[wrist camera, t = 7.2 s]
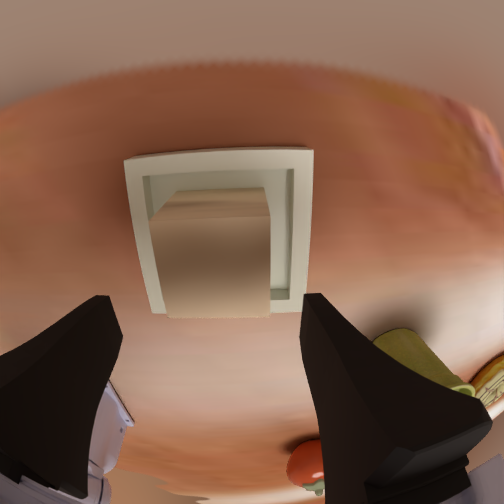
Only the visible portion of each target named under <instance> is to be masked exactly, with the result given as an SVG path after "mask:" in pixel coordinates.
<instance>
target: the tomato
mask: <svg viewBox="0 0 504 504" xmlns="http://www.w3.org/2000/svg"><path fill="white" fill-rule="evenodd" d="M286 472H287V476H288V479H289V480H290V482H291V483H293V484H295V485H297V486H300V487H303V488H305V489H306V490H307V491H315V494H316V495H317V496H321V495H322V494H323V489H325V485H324V471H323V459H322V450H321V441H320V439H316V440H309V441H306V442H303V443H301V444H300V445H299V446H298V447H297V448H296V449H295V450H294V451H293V453H292V454H291V456H290V458H289V461H288V464H287V470H286Z"/></svg>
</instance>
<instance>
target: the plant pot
mask: <svg viewBox="0 0 504 504" xmlns="http://www.w3.org/2000/svg"><path fill="white" fill-rule="evenodd" d="M373 344H375V345H376V346H377V347H378V348H380V349H381V350H382V351H384V352H385V353H387V354H388V355H389V356H391V357H392V358H394V359H395V360H397V361H398V362H400V363H401V364H403V365H404V366H406V367H408V368H409V369H411V370H413V371H415V372H416V373H418V374H420V375H422V376H424V377H426V378H428V379H430V380H432V381H434V382H436V383H438V384H440V385H443V386H445V387H447V388H450V389H452V390H455V391H458V392H461V393H464V394H467V395H470V396H473V397H475V389H474V387H473V386H472V385H471V384H469V383H465V382H463V381H462V380H461V378H460V377H458V376H457V375H454V374H453V373H452V372H451V371H450V370H449V369H448V368H447V367H446V366H445V364H444V363H443V362H442V361H441V360H440V359H439V358H438V357H437V356H436V355H435V353H434V352H433V351H432V350H431V349H430V348H429V347H428V346H427V345H426V343H425V342H424V341H423V340H422V339H421V338H420V337H419V336H418V335H417V334H416V333H415V332H413V331H411V330H408V329H405V328H401V329H395V330H392V331H389V332H387V333H384V334H382V335H381V336H379V337H378V338H376V339H375V340H374V342H373Z"/></svg>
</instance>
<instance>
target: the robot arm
mask: <svg viewBox="0 0 504 504" xmlns="http://www.w3.org/2000/svg"><path fill="white" fill-rule="evenodd" d="M299 338H300V345H301V353H302V360H303V364H304V368H305V372H306V376H307V379H308V383H309V387H310V391H311V394H312V398H313V402H314V406H315V410H316V414H317V419H318V426H319V433H320V441H321V450H322V459H323V471H324V485H325V504H504V459H503V457H502V455H501V454H497V455H496V456H494V457H493V458H491V459H490V460H488V461H486V462H485V463H483V464H482V465H480V466H478V467H476V468H475V469H473V470H472V471H470V472H469V473H467V472H466V470H465V466H467V465H468V464H469V460H468V458H467V455H466V454H467V453H468V452H469V451H470V450H472V448H474V447H475V446H476V445H477V444H478V443H479V442H480V441H481V440H482V439H483V438H484V437H485V436H486V435H487V434H488V432H489V431H490V429H491V427H492V423H493V422H492V420H491V418H490V416H489V414H488V412H487V410H486V409H485V407H484V405H483V403H482V401H481V400H480V399H479V398H476V397H473V396H470V395H467V394H464V393H461V392H458V391H455V390H452V389H450V388H447V387H445V386H443V385H440V384H438V383H436V382H434V381H432V380H430V379H428V378H426V377H424V376H422V375H420V374H418V373H416V372H415V371H413V370H411V369H409V368H408V367H406V366H404V365H403V364H401V363H400V362H398V361H397V360H395V359H394V358H392V357H391V356H389V355H388V354H387V353H385V352H384V351H382V350H381V349H380V348H378V347H377V346H376V345H375V344H373V343H372V342H371V341H370V340H369V339H367V338H366V337H365V336H364V335H363V334H361V333H360V332H359V331H358V330H357V329H356V328H355V327H354V326H353V325H352V324H351V323H350V322H349V321H348V320H346V319H345V318H344V317H343V316H342V315H341V313H340V312H339V311H338V310H337V309H336V308H335V307H334V306H333V305H332V304H331V303H330V302H329V301H328V300H327V299H326V298H325V297H324V296H323V295H322V294H321V293H310V294H304V295H303V306H302V317H301V327H300V336H299ZM122 339H123V335H122V332H121V329H120V326H119V324H118V321H117V318H116V315H115V312H114V309H113V306H112V303H111V300H110V297H109V296H104V295H96V296H94V297H92V298H90V299H89V300H87V301H86V302H84V303H83V304H81V305H80V306H78V307H77V308H75V309H74V310H73V311H71V312H70V313H68V314H67V315H66V316H64V317H63V318H62V319H60V320H59V321H57V322H56V323H55V324H53V325H52V326H50V327H49V328H47V329H46V330H44V331H43V332H41V333H40V334H38V335H37V336H35V337H34V338H32V339H31V340H29V341H27V342H26V343H24V344H22V345H20V346H19V347H17V348H15V349H13V350H11V351H9V352H7V353H5V354H3V355H1V356H0V504H110V501H111V486H110V484H109V482H108V479H107V478H106V477H104V476H103V474H105V473H107V472H109V471H110V470H112V468H114V466H115V465H116V463H117V460H118V457H119V453H120V449H121V446H122V442H123V438H124V435H125V431H126V428H127V426H132V427H133V426H134V422H133V420H132V419H131V417H130V416H129V414H128V412H127V411H126V409H125V408H124V406H123V404H122V403H121V401H120V399H119V398H118V396H117V394H116V393H115V391H114V389H113V387H112V386H111V384H110V382H109V378H110V375H111V373H112V370H113V368H114V365H115V363H116V360H117V358H118V354H119V351H120V347H121V343H122Z"/></svg>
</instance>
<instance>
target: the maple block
mask: <svg viewBox="0 0 504 504" xmlns="http://www.w3.org/2000/svg"><path fill="white" fill-rule="evenodd" d="M148 223H149V229H150V235H151V240H152V246H153V251H154V257H155V262H156V267H157V272H158V277H159V282H160V286H161V291H162V295H163V300H164V304H165V308H166V312H167V317H168V318H256V317H270V276H271V216H270V212H269V207H268V203H267V198H266V194H265V189H264V187H259V188H229V189H208V190H191V191H176V192H175V193H174V194H173V195H172V196H171V197H170V198H169V199H168V201H167V202H166V203H165V204H164V205H163V206H162V207H161V208H160V209H159V210H158V211H157V212H156V214H155V215H154V216H153V217H152V218H151V219H150V220H149V221H148Z"/></svg>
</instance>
